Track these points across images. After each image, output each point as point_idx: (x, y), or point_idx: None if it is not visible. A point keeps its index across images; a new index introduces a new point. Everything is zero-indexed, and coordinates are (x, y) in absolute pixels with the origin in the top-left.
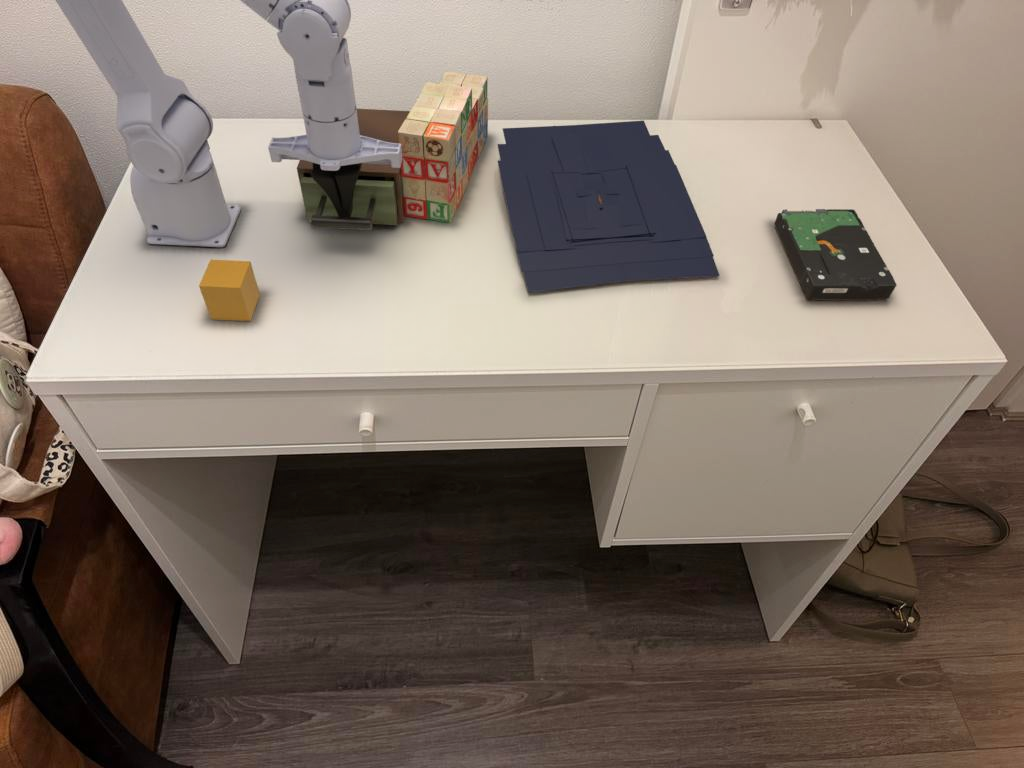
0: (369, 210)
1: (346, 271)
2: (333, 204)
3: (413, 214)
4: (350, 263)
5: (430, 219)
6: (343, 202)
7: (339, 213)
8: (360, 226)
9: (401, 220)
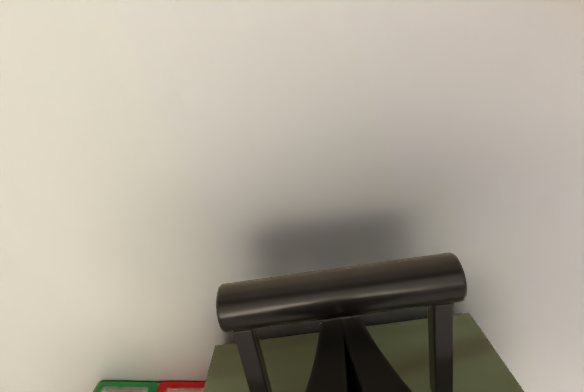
0: (253, 367)
1: (298, 145)
2: (385, 361)
3: (195, 389)
4: (298, 182)
5: (151, 382)
6: (338, 378)
7: (358, 330)
8: (255, 284)
9: None
